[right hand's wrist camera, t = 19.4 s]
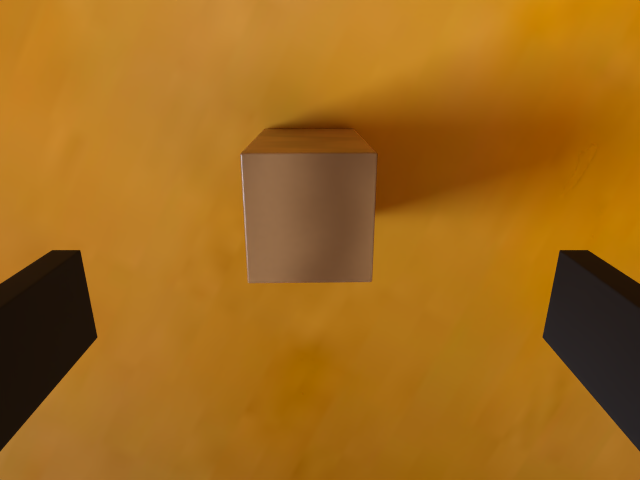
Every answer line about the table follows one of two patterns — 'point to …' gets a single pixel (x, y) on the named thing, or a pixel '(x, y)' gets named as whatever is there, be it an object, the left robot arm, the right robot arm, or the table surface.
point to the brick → (309, 206)
